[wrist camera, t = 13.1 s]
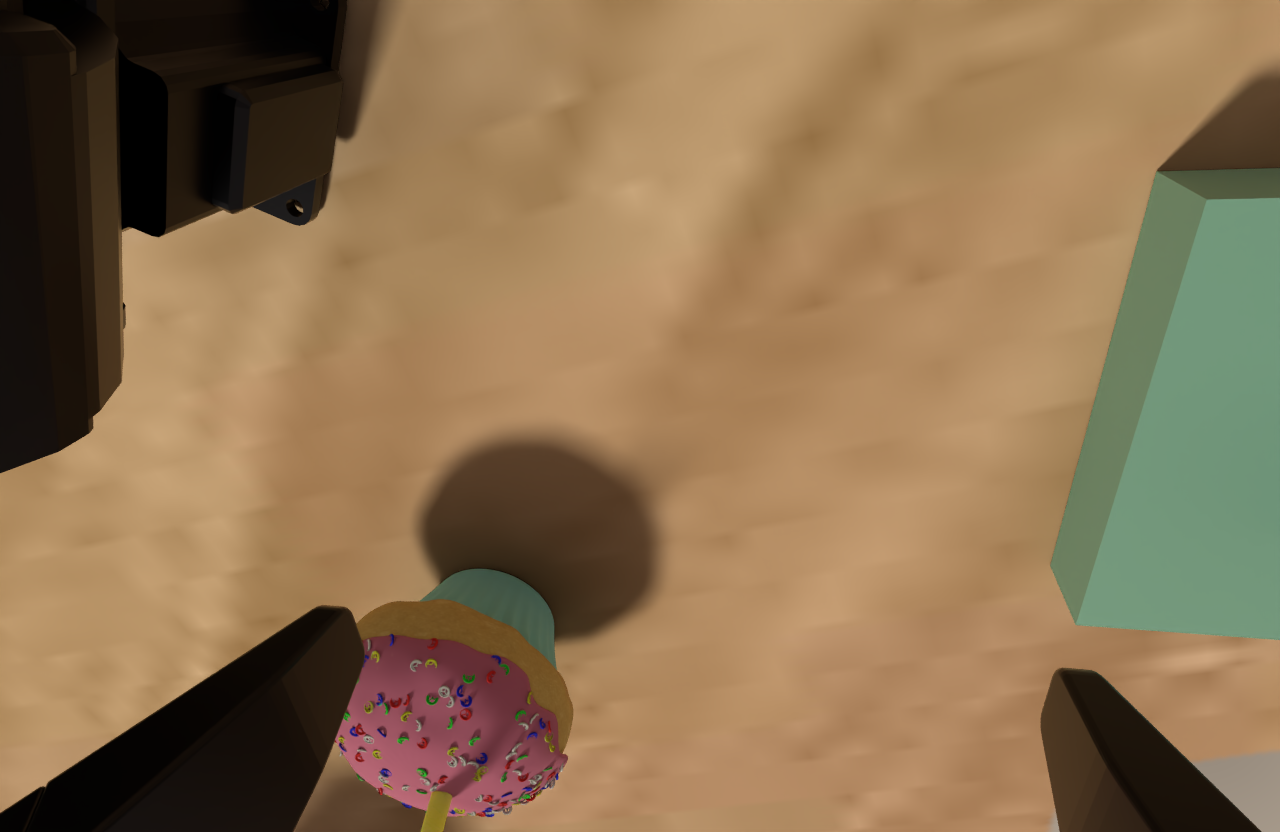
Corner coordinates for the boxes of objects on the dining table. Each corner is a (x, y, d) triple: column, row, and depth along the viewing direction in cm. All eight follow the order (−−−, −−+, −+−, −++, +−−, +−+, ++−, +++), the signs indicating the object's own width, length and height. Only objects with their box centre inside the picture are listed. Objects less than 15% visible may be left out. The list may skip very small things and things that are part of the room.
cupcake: (645, 646, 28) (562, 1022, 18) (493, 713, 32) (354, 1056, 22) (490, 489, 26) (294, 826, 16) (344, 582, 30) (110, 903, 19)
